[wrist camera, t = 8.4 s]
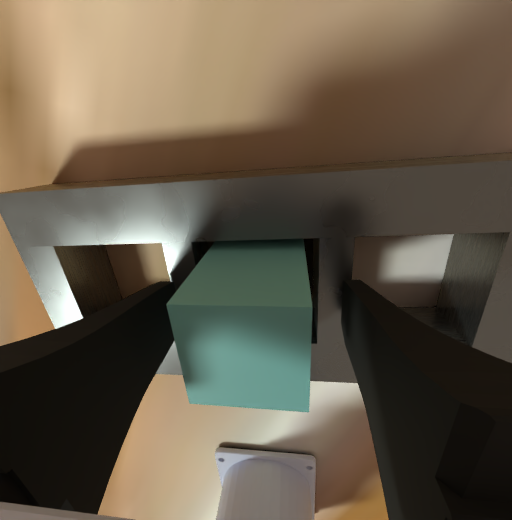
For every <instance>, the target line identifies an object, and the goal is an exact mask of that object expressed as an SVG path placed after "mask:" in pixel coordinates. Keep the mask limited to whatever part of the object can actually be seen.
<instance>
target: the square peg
mask: <svg viewBox="0 0 512 520" xmlns="http://www.w3.org/2000/svg"><path fill="white" fill-rule="evenodd" d="M166 305H167V310H168V314H169V318H170V322H171V327H172V331H173V335H174V340H175V344H176V348H177V352H178V357H179V361H180V365H181V369H182V374H183V378H184V382H185V386H186V391H187V395H188V399H189V404H203V405H217V406H230V407H244V408H258V409H271V410H285V411H299V412H309V396H310V367H311V337H312V308H313V307H312V300H311V292H310V285H309V277H308V270H307V262H306V255H305V247H304V240H303V238H302V239H270V240H237V241H215V242H214V243H213V245H212V246H211V247H210V249H209V250H208V251H207V253H206V254H205V255H204V256H203V258H202V259H201V260H200V262H199V263H198V264H197V265H196V267H195V268H194V269H193V271H192V272H191V273H190V274H189V276H188V277H187V278H186V280H185V281H184V282H183V283H182V285H181V286H180V287H179V289H178V290H177V291H176V292H175V294H174V295H173V296H172V298H171V299H170V300H169V301H168V303H167V304H166Z"/></svg>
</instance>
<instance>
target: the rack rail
mask: <svg viewBox="0 0 512 520" xmlns="http://www.w3.org/2000/svg"><path fill="white" fill-rule="evenodd" d="M0 214H1V216H2V218H3V220H4V222H5V224H6V226H7V228H8V230H9V232H10V235H11V237H12V239H13V241H14V243H15V245H16V247H17V249H18V251H19V253H20V255H21V258H22V260H23V262H24V264H25V266H26V268H27V270H28V272H29V274H30V276H31V279H32V281H33V283H34V285H35V287H36V289H37V291H38V293H39V295H40V297H41V300H42V302H43V304H44V306H45V308H46V310H47V312H48V314H49V316H50V318H51V320H52V323H53V325H54V327H55V329H57V328H59V327H62V326H65V325H67V324H70V323H72V322H75V321H77V320H80V319H82V318H85V317H87V316H89V315H92V314H94V313H96V312H98V311H100V310H102V309H104V308H106V307H108V306H111V305H113V304H115V303H117V302H119V301H121V300H122V298H121V295H120V292H119V289H118V286H117V283H116V280H115V277H114V274H113V271H112V268H111V265H110V262H109V259H108V256H107V253H106V250H105V247H104V245H106V244H139V243H162V247H163V251H164V255H165V260H166V264H167V268H168V272H169V277H170V281H174V284H175V288H176V291H177V290H178V289H179V287H180V286H181V285H182V283H183V282H184V281H185V280H186V278H187V277H188V276H189V274H190V273H191V272H192V271H193V269H194V268H195V267H196V265H197V264H198V263H199V262H200V260H201V259H202V258H203V256H204V255H205V254H206V253H207V251H208V250H209V249H210V247H211V246H212V245H213V243H214V241H237V240H270V239H302V238H313V292H312V307H313V308H312V337H311V367H310V381H324V382H346V383H358V382H357V379H356V376H355V373H354V370H353V367H352V364H351V361H350V358H349V355H348V352H347V349H346V346H345V342H344V337H343V332H342V326H341V311H342V296H343V282H344V280H351V279H352V267H353V255H354V243H355V237H368V236H401V235H433V234H454V236H453V241H452V245H451V249H450V253H449V257H448V261H447V265H446V269H445V273H444V278H443V282H442V286H441V290H440V294H439V298H438V302H437V306H436V308H403V307H399V308H400V309H402V310H403V311H405V312H406V313H408V314H409V315H411V316H413V317H414V318H416V319H418V320H419V321H421V322H423V323H424V324H426V325H428V326H430V327H432V328H434V329H436V330H438V331H439V332H441V333H443V334H445V335H447V336H449V337H451V338H453V339H455V340H457V341H460V342H462V343H464V344H466V345H469V346H471V347H473V348H475V349H478V350H480V351H482V352H485V353H487V354H489V355H492V356H494V357H497V358H500V359H502V360H505V361H507V362H510V363H512V152H509V153H495V154H480V155H466V156H451V157H437V158H422V159H408V160H393V161H379V162H364V163H350V164H335V165H321V166H306V167H292V168H278V169H263V170H249V171H234V172H220V173H205V174H191V175H176V176H162V177H147V178H133V179H118V180H104V181H89V182H75V183H61V184H49V185H43V186H37V187H31V188H25V189H19V190H13V191H8V192H2V193H0ZM156 374H171V375H183V374H182V369H181V365H180V361H179V357H178V352H177V348H176V344H175V340H174V342H173V344H172V346H171V348H170V349H169V351H168V353H167V355H166V357H165V358H164V360H163V362H162V363H161V365H160V367H159V369H158V370H157V372H156Z"/></svg>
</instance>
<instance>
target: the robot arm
mask: <svg viewBox="0 0 512 520" xmlns="http://www.w3.org/2000/svg"><path fill="white" fill-rule="evenodd" d="M175 292H176V288H175V284H174V281H164V282H158V283H156V284H153V285H151V286H149V287H147V288H145V289H143V290H141V291H139V292H137V293H135V294H133V295H131V296H129V297H127V298H125V299H123V300H121V301H119V302H117V303H115V304H113V305H111V306H108V307H106V308H104V309H102V310H100V311H98V312H96V313H94V314H92V315H89V316H87V317H85V318H82V319H80V320H77V321H75V322H72V323H70V324H67V325H65V326H62V327H59V328H57V329H54V330H51V331H48V332H45V333H42V334H39V335H36V336H33V337H30V338H27V339H24V340H20V341H17V342H13V343H10V344H7V345H3V346H0V520H134V519H126V518H119V517H111V516H104V515H97V514H98V511H99V508H100V505H101V502H102V499H103V496H104V493H105V490H106V487H107V484H108V482H109V479H110V476H111V474H112V471H113V468H114V466H115V463H116V460H117V458H118V455H119V452H120V450H121V447H122V445H123V442H124V440H125V437H126V435H127V433H128V430H129V428H130V425H131V423H132V420H133V418H134V416H135V414H136V411H137V409H138V407H139V405H140V402H141V400H142V398H143V396H144V394H145V392H146V390H147V388H148V386H149V384H150V383H151V381H152V379H153V377H154V376H155V374H156V372H157V370H158V369H159V367H160V365H161V363H162V362H163V360H164V358H165V357H166V355H167V353H168V351H169V349H170V348H171V346H172V344H173V342H174V335H173V331H172V327H171V322H170V318H169V314H168V310H167V305H166V304H167V303H168V301H169V300H170V299H171V298H172V296H173V295H174V294H175ZM341 326H342V332H343V337H344V342H345V346H346V349H347V352H348V355H349V358H350V361H351V364H352V367H353V370H354V373H355V376H356V379H357V382H358V385H359V388H360V391H361V394H362V397H363V401H364V404H365V408H366V412H367V416H368V421H369V425H370V430H371V434H372V439H373V443H374V448H375V453H376V457H377V462H378V467H379V472H380V477H381V482H382V487H383V492H384V497H385V502H386V507H387V512H388V518H389V520H512V363H510V362H507V361H505V360H502V359H500V358H497V357H494V356H492V355H489V354H487V353H485V352H482V351H480V350H478V349H475V348H473V347H471V346H469V345H466V344H464V343H462V342H460V341H457V340H455V339H453V338H451V337H449V336H447V335H445V334H443V333H441V332H439V331H438V330H436V329H434V328H432V327H430V326H428V325H426V324H424V323H423V322H421V321H419V320H418V319H416V318H414V317H413V316H411V315H409V314H408V313H406V312H405V311H403V310H402V309H400V308H399V307H397V306H395V305H394V304H393V303H391V302H390V301H388V300H387V299H385V298H384V297H383V296H381V295H380V294H379V293H377V292H376V291H375V290H373V289H372V288H370V287H369V286H368V285H366V284H365V283H364V282H362V281H361V280H344V282H343V296H342V311H341ZM215 458H216V463H217V467H218V472H219V476H220V480H221V485H222V491H221V496H220V501H219V506H218V511H217V516H216V520H314V514H315V480H316V459H315V457H314V456H312V455H305V454H293V453H281V452H270V451H258V450H246V449H235V448H223V447H219V448H217V449H216V451H215Z"/></svg>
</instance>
